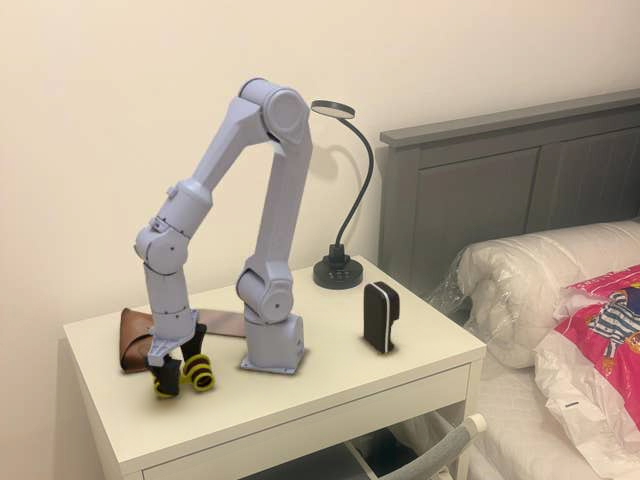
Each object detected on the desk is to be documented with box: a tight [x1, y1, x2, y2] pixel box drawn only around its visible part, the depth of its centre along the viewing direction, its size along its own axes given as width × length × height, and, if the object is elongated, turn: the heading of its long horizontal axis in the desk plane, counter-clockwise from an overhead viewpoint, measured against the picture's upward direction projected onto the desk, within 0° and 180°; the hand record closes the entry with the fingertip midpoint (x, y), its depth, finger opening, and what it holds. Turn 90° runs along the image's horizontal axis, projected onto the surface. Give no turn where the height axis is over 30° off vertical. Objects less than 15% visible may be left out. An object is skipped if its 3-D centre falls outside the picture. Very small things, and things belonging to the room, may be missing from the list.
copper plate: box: [197, 308, 246, 339], centre depth 124 cm, size 13×8×1 cm, turn 76°
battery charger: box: [362, 280, 401, 354], centre depth 113 cm, size 7×4×11 cm, turn 28°
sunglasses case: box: [118, 307, 154, 374], centre depth 117 cm, size 18×7×7 cm
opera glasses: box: [150, 353, 216, 398], centre depth 106 cm, size 10×5×5 cm, turn 107°
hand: (182, 379), depth 106 cm, fingers open, 7 cm apart
